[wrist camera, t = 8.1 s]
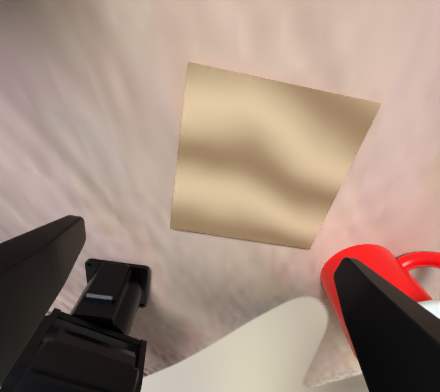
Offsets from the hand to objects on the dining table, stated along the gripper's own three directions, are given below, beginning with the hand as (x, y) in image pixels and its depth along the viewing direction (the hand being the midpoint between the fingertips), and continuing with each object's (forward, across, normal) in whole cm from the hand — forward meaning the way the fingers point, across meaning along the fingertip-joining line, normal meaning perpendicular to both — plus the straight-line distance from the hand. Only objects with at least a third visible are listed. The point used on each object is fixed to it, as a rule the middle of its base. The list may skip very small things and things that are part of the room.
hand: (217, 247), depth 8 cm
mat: (+12, -4, +2) cm, 13 cm away
